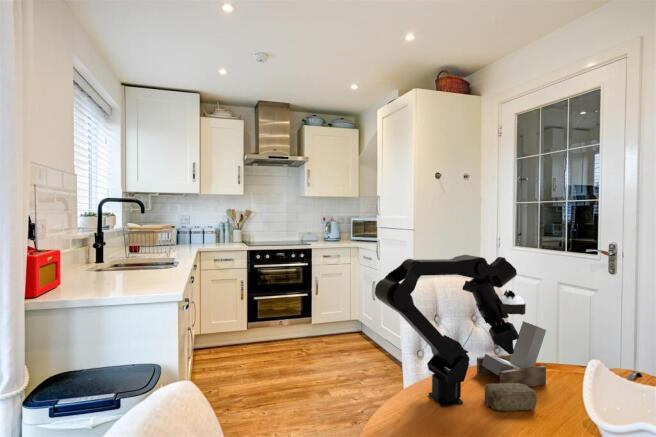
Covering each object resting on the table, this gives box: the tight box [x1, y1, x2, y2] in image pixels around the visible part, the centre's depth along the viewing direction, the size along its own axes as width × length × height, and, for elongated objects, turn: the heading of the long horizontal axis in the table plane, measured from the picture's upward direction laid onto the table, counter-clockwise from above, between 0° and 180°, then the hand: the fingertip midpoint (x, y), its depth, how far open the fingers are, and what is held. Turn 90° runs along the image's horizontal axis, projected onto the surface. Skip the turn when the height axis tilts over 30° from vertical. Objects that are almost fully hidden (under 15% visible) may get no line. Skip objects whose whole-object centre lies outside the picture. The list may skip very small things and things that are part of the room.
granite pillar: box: [510, 320, 547, 368], centre depth 108 cm, size 5×5×13 cm
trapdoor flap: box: [482, 353, 520, 377], centre depth 106 cm, size 14×8×4 cm, turn 106°
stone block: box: [484, 382, 537, 412], centre depth 92 cm, size 6×12×5 cm, turn 95°
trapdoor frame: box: [476, 353, 547, 388], centre depth 106 cm, size 15×11×5 cm
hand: (506, 343), depth 101 cm, fingers open, 9 cm apart
